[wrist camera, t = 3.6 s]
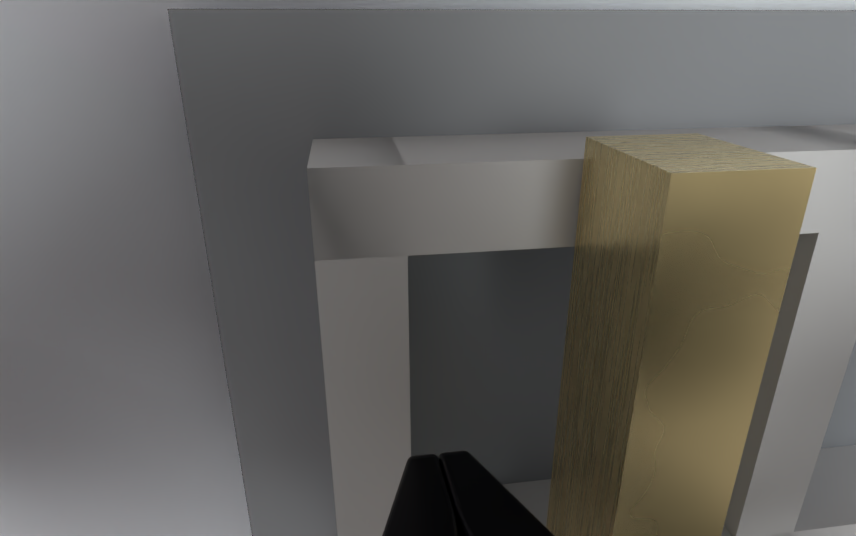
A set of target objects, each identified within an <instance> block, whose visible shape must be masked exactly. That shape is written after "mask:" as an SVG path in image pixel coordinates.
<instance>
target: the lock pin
mask: <svg viewBox="0 0 856 536" xmlns="http://www.w3.org/2000/svg"><path fill="white" fill-rule="evenodd" d="M816 169H817V168H816V167H812V166H809V165H805V164H802V163H798V162H795V161H792V160H788V159H785V158H781V157H778V156H774V155H771V154H767V153H764V152H760V151H757V150H753V149H750V148H746V147H743V146H740V145H736V144H733V143H729V142H726V141H722V140H719V139H715V138H712V137H708V136H705V135H701V134H698V133H693V134H659V135H624V136H589V137H586V142H585V152H584V162H583V172H582V181H581V191H580V201H579V211H578V220H577V230H576V240H575V250H574V259H573V269H572V279H571V289H570V299H569V308H568V318H567V328H566V338H565V347H564V357H563V367H562V377H561V386H560V396H559V406H558V416H557V425H556V435H555V445H554V455H553V464H552V474H551V484H550V494H549V504H548V513H547V523H546V528H547V529H548V530H549V531H551V532H552V533H553V534H554V535H555V536H721V534H722V530H723V526H724V522H725V519H726V515H727V511H728V507H729V503H730V499H731V496H732V492H733V488H734V484H735V480H736V476H737V473H738V469H739V465H740V461H741V457H742V453H743V449H744V446H745V442H746V438H747V434H748V430H749V426H750V423H751V419H752V415H753V411H754V407H755V403H756V399H757V396H758V392H759V388H760V384H761V380H762V376H763V373H764V369H765V365H766V361H767V357H768V353H769V350H770V346H771V342H772V338H773V334H774V330H775V326H776V323H777V319H778V315H779V311H780V307H781V303H782V300H783V296H784V292H785V288H786V284H787V280H788V277H789V273H790V269H791V265H792V261H793V257H794V253H795V250H796V246H797V242H798V238H799V234H800V230H801V227H802V223H803V219H804V215H805V211H806V207H807V204H808V200H809V196H810V192H811V188H812V184H813V180H814V177H815V173H816Z"/></svg>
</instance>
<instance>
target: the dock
mask: <svg viewBox="0 0 856 536" xmlns="http://www.w3.org/2000/svg"><path fill="white" fill-rule="evenodd" d="M168 14H169V21H170V27H171V33H172V39H173V46H174V52H175V58H176V64H177V70H178V77H179V83H180V89H181V95H182V102H183V108H184V114H185V120H186V127H187V133H188V139H189V145H190V151H191V158H192V164H193V170H194V176H195V183H196V189H197V195H198V201H199V207H200V214H201V220H202V226H203V232H204V239H205V245H206V251H207V257H208V264H209V270H210V276H211V282H212V288H213V295H214V301H215V307H216V313H217V320H218V326H219V332H220V338H221V345H222V351H223V357H224V363H225V369H226V376H227V382H228V388H229V394H230V401H231V407H232V413H233V419H234V426H235V432H236V438H237V444H238V450H239V457H240V463H241V469H242V475H243V482H244V488H245V494H246V500H247V507H248V513H249V519H250V525H251V531H252V536H382V534H383V531H384V528H385V525H386V522H387V519H388V516H389V513H390V510H391V507H392V504H393V501H394V498H395V495H396V492H397V489H398V486H399V483H400V480H401V477H402V474H403V471H404V468H405V465H406V462H407V460H408V458H409V457H411V456H416V455H425V454H435V455H437V457H439V455H440V454H441V453H444V452H453V451H462V450H463V451H467V452H469V453H470V454H471V455H472V456H473V457H475V458H476V459H477V460H478V461H479V462H480V463H481V464H482V465H483V466H484V467H485V468H486V469H487V470H488V471H489V472H490V473H491V474H492V475H493V476H494V477H495V478H496V479H497V480H498V481H499V482H500V483H501V484H502V485H503V486H504V487H505V488H506V489H507V490H508V491H509V492H510V493H511V494H513V495H514V496H515V497H516V498H517V499H518V500H519V501H520V502H521V503H522V504H523V505H524V506H525V507H526V508H527V509H528V510H529V511H530V512H531V513H532V514H533V515H534V516H535V517H536V518H537V519H538V520H539V521H540V522H541V523H542V524H543V525H544V526H545V527H546V523H547V513H548V504H549V494H550V484H551V474H552V464H553V455H554V445H555V435H556V425H557V416H558V406H559V396H560V386H561V377H562V367H563V357H564V347H565V338H566V328H567V318H568V308H569V299H570V289H571V279H572V269H573V259H574V250H575V240H576V230H577V220H578V211H579V201H580V191H581V181H582V172H583V162H584V152H585V142H586V137H589V136H624V135H659V134H693V133H698V134H701V135H705V136H708V137H712V138H715V139H719V140H722V141H726V142H729V143H733V144H736V145H740V146H743V147H746V148H750V149H753V150H757V151H760V152H764V153H767V154H771V155H774V156H778V157H781V158H785V159H788V160H792V161H795V162H798V163H802V164H805V165H809V166H812V167H816V168H817V169H816V173H815V177H814V180H813V184H812V188H811V192H810V196H809V200H808V204H807V207H806V211H805V215H804V219H803V223H802V227H801V230H800V234H799V238H798V242H797V246H796V250H795V253H794V257H793V261H792V265H791V269H790V273H789V277H788V280H787V284H786V288H785V292H784V296H783V300H782V303H781V307H780V311H779V315H778V319H777V323H776V326H775V330H774V334H773V338H772V342H771V346H770V350H769V353H768V357H767V361H766V365H765V369H764V373H763V376H762V380H761V384H760V388H759V392H758V396H757V399H756V403H755V407H754V411H753V415H752V419H751V423H750V426H749V430H748V434H747V438H746V442H745V446H744V449H743V453H742V457H741V461H740V465H739V469H738V473H737V476H736V480H735V484H734V488H733V492H732V496H731V499H730V503H729V507H728V511H727V515H726V519H725V522H724V526H723V530H722V534H721V536H856V11H816V10H386V9H168Z"/></svg>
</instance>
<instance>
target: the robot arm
mask: <svg viewBox="0 0 856 536" xmlns="http://www.w3.org/2000/svg"><path fill="white" fill-rule="evenodd" d="M382 536H555V535H554V534H553V533H552V532H551V531H549V530H548V529H547V528H546V527H545V526H544V525H543V524H542V523H541V522H540V521H539V520H538V519H537V518H536V517H535V516H534V515H533V514H532V513H531V512H530V511H529V510H528V509H527V508H526V507H525V506H524V505H523V504H522V503H521V502H520V501H519V500H518V499H517V498H516V497H515V496H514V495H513V494H511V493H510V492H509V491H508V490H507V489H506V488H505V487H504V486H503V485H502V484H501V483H500V482H499V481H498V480H497V479H496V478H495V477H494V476H493V475H492V474H491V473H490V472H489V471H488V470H487V469H486V468H485V467H484V466H483V465H482V464H481V463H480V462H479V461H478V460H477V459H476V458H475V457H473V456H472V455H471V454H470V453H469V452H467V451H463V450H462V451H453V452H444V453H441V454H440V455H439V457H437V455H435V454H425V455H416V456H411V457H409V458H408V460H407V462H406V465H405V468H404V471H403V474H402V477H401V480H400V483H399V486H398V489H397V492H396V495H395V498H394V501H393V504H392V507H391V510H390V513H389V516H388V519H387V522H386V525H385V528H384V531H383V534H382Z"/></svg>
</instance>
